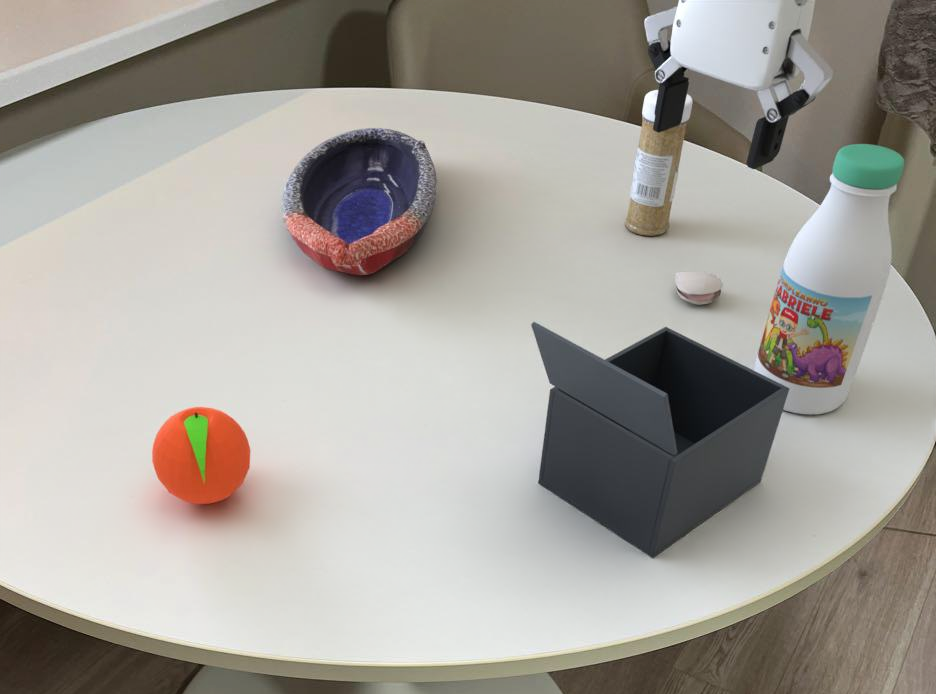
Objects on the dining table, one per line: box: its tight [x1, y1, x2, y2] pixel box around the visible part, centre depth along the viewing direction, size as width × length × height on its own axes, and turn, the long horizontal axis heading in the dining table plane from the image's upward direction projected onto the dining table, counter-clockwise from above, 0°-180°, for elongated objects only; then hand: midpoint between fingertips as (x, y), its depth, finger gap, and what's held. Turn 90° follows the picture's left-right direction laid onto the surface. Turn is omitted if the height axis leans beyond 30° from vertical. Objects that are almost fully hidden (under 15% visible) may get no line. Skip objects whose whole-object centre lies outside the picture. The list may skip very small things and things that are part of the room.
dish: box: [281, 127, 438, 276], centre depth 109 cm, size 16×31×5 cm, turn 172°
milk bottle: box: [753, 143, 905, 415], centre depth 81 cm, size 8×8×20 cm
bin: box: [537, 326, 789, 559], centre depth 76 cm, size 13×11×8 cm
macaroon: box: [674, 270, 724, 306], centre depth 99 cm, size 4×5×2 cm
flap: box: [530, 321, 677, 456], centre depth 67 cm, size 6×11×1 cm
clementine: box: [151, 406, 251, 505], centre depth 75 cm, size 8×7×7 cm
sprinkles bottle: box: [624, 89, 693, 237], centre depth 105 cm, size 5×5×13 cm
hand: (711, 145), depth 90 cm, fingers open, 9 cm apart
